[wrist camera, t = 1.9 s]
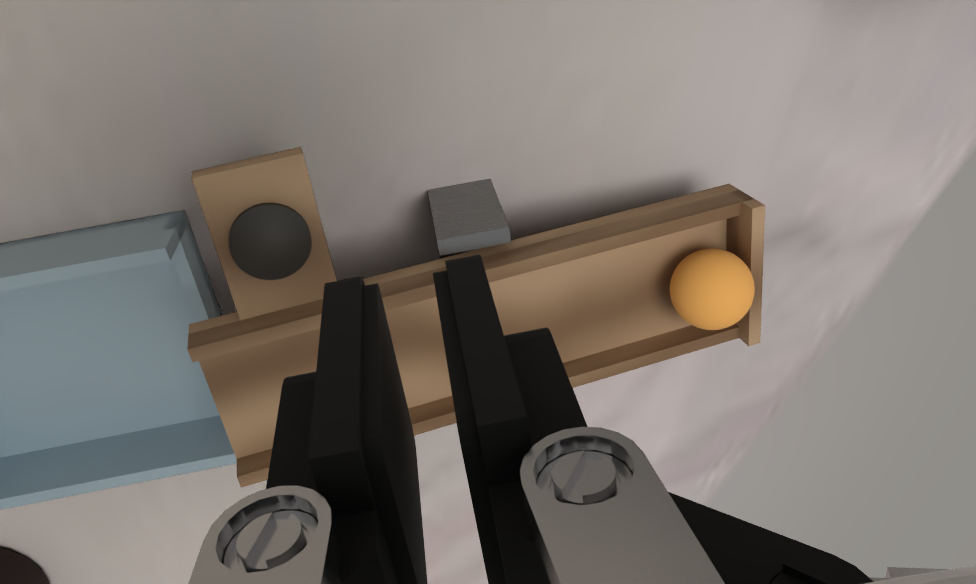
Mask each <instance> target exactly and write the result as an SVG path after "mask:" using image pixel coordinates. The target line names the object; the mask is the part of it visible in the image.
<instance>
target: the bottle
mask: <svg viewBox="0 0 976 584" xmlns="http://www.w3.org/2000/svg"><path fill="white" fill-rule="evenodd" d="M0 584H49V582H48V580H47V578H46V577H45V575H44V574H43V572H42V570H41V569H40V568H38V567H37V566H36V565H35V564H34V563H32V562H31V561H30V560H29V559H27V558H26V557H24V556H22V555H19V554H17V553H15V552H13V551H11V550H8V549H3V548H0Z"/></svg>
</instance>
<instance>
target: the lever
mask: <svg viewBox="0 0 976 584" xmlns="http://www.w3.org/2000/svg"><path fill="white" fill-rule="evenodd" d="M191 179H192V182H193V184H194V187H195V190H196V193H197V196H198V199H199V202H200V205H201V208H202V211H203V214H204V216H205V219H206V222H207V225H208V228H209V231H210V234H211V237H212V240H213V243H214V246H215V249H216V251H217V254H218V257H219V260H220V263H221V266H222V269H223V272H224V275H225V278H226V281H227V283H228V286H229V289H230V292H231V295H232V298H233V301H234V304H235V307H236V310H237V312H234V313H230V314H227V315H223V316H219V317H215V318H211V319H207V320H203V321H200V322H196V323H192V324H189V333H188V348H187V350H188V352H189V355H190V358H191V360H192V363H193V362H196V361H199V363H200V365H201V368H202V371H203V373H204V376H205V378H206V381H207V384H208V386H209V389H210V391H211V394H212V397H213V399H214V402H215V404H216V407H217V410H218V412H219V415H220V417H221V420H222V423H223V425H224V428H225V430H226V433H227V436H228V438H229V441H230V443H231V446H232V449H233V451H234V454H235V456H236V459H237V478H238V481H239V483H240V486H241V487H244V486H248V485H251V484H254V483H258V482H261V481H264V480H267V479H268V473H269V466H270V460H271V453H272V447H273V441H274V434H275V428H276V421H277V415H278V409H279V402H280V396H281V389H282V384H283V381H284V379H285V378H286V377H290V376H295V375H300V374H306V373H311V372H316V368H317V358H318V347H319V337H320V326H321V316H322V305H323V294H324V285H325V283H329V282H335V281H337V280H336V276H335V273H334V269H333V265H332V261H331V258H330V254H329V250H328V246H327V243H326V239H325V235H324V231H323V227H322V224H321V220H320V216H319V212H318V209H317V205H316V201H315V197H314V194H313V190H312V186H311V182H310V179H309V175H308V171H307V167H306V164H305V160H304V156H303V152H302V149H301V147H298V148H294V149H289V150H285V151H281V152H276V153H272V154H267V155H263V156H258V157H254V158H250V159H245V160H241V161H236V162H232V163H227V164H223V165H219V166H214V167H210V168H205V169H201V170H196V171H192V178H191ZM764 219H765V205H764V204H762V203H760V202H759V201H757V200H755V199H754V198H752V197H750V196H749V195H747V194H745V193H744V192H742V191H740V190H739V189H737V188H735V187H734V186H732V185H730V184H726V185H722V186H719V187H715V188H711V189H707V190H703V191H699V192H695V193H692V194H688V195H684V196H680V197H676V198H672V199H669V200H665V201H661V202H657V203H653V204H649V205H645V206H642V207H638V208H634V209H630V210H626V211H622V212H619V213H615V214H611V215H607V216H603V217H599V218H596V219H592V220H588V221H584V222H580V223H576V224H572V225H569V226H565V227H561V228H557V229H553V230H549V231H546V232H542V233H538V234H534V235H530V236H526V237H522V238H519V239H515V240H511V243H505V244H500V245H495V246H489V247H484V248H479V249H473V250H468V251H462V253H461V254H457V255H453V256H449V257H446V258H442V259H438V260H434V261H430V262H426V263H423V264H419V265H415V266H411V267H407V268H403V269H400V270H396V271H392V272H388V273H384V274H380V275H376V276H373V277H369V278H365V279H363V280H364V283H365V285H371V284H376V283H378V285H379V288H380V292H381V296H382V300H383V305H384V309H385V313H386V317H387V322H388V326H389V330H390V334H391V338H392V343H393V347H394V351H395V355H396V360H397V364H398V368H399V372H400V377H401V381H402V385H403V389H404V393H405V398H406V402H407V406H408V410H409V415H410V419H411V423H412V428H413V433H414V435H417V434H421V433H424V432H427V431H431V430H434V429H437V428H441V427H444V426H447V425H451V424H454V423H457V421H456V416H455V409H454V403H453V397H452V391H451V385H450V378H449V372H448V366H447V360H446V353H445V347H444V341H443V335H442V329H441V322H440V316H439V310H438V304H437V297H436V291H435V285H434V279H433V273H435V272H440V271H445V270H447V269H446V264H445V261H447V260H453V259H458V258H463V257H469V256H474V255H481V258H482V261H483V265H484V268H485V272H486V275H487V279H488V282H489V286H490V289H491V293H492V296H493V300H494V303H495V306H496V310H497V313H498V317H499V320H500V324H501V327H502V331H503V334H504V335H509V334H514V333H520V332H525V331H530V330H535V329H541V328H546V327H547V328H549V330H550V332H551V334H552V337H553V339H554V342H555V345H556V347H557V350H558V352H559V355H560V357H561V360H562V363H563V365H564V368H565V370H566V373H567V375H568V378H569V381H570V383H571V386H572V388H574V387H577V386H580V385H584V384H587V383H590V382H594V381H597V380H600V379H604V378H607V377H610V376H614V375H617V374H620V373H624V372H627V371H630V370H634V369H637V368H640V367H644V366H647V365H650V364H654V363H657V362H660V361H664V360H667V359H670V358H673V357H677V356H680V355H683V354H687V353H690V352H693V351H697V350H700V349H703V348H707V347H710V346H713V345H717V344H720V343H723V342H727V341H730V340H733V339H737V338H740V339H741V340H742V341H743V342H745V343H746V344H747V345H748V346H751V345H754V344H758V343H760V333H761V305H762V276H763V248H764ZM709 248H716V249H722V250H726V251H728V252H731V253H733V254H735V255H736V256H738V257H739V258H740V259H741V260H742V261H743V262H744V263H745V264H746V265H747V266H748V268H749V270H750V272H751V274H752V277H753V280H754V287H755V292H754V298H753V302H752V305H751V307H750V309H749V310H748V312H747V313H746V314H745V316H744V317H743V318H742V319H741V320H739V321H738V322H737V323H735V324H733V325H732V326H729V327H727V328H724V329H719V330H705V329H701V328H697V327H695V326H693V325H691V324H689V323H688V322H686V321H685V320H684V319H683V318H682V317H681V316H680V315H679V314H678V313H677V311H676V310H675V308H674V306H673V303H672V301H671V297H670V282H671V278H672V275H673V272H674V271H675V269H676V267H677V266H678V265H679V263H680V262H681V261H682V260H683V259H684V258H685V257H687V256H688V255H690V254H692V253H694V252H696V251H699V250H702V249H709Z"/></svg>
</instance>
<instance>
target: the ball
mask: <svg viewBox="0 0 976 584" xmlns="http://www.w3.org/2000/svg"><path fill="white" fill-rule="evenodd" d="M754 292H755V287H754V280H753V277H752V274H751V272H750V270H749V268H748V266H747V265H746V264H745V263H744V262H743V261H742V260H741V259H740V258H739V257H738V256H736V255H735V254H733V253H731V252H728V251H726V250H722V249H716V248H709V249H702V250H699V251H696V252H694V253H692V254H690V255H688V256H687V257H685V258H684V259H683V260H682V261H681V262H680V263H679V265H678V266H677V267H676V269H675V271H674V272H673V275H672V278H671V282H670V297H671V301H672V303H673V306H674V308H675V310H676V311H677V313H678V314H679V315H680V316H681V317H682V318H683V319H684V320H685V321H686V322H688V323H689V324H691V325H693V326H695V327H697V328H701V329H705V330H719V329H724V328H727V327H729V326H732V325H733V324H735V323H737V322H738V321H739V320H741V319H742V318H743V317H744V316H745V314H746V313H747V312H748V310H749V309H750V307H751V305H752V302H753V298H754Z"/></svg>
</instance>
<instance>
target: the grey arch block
mask: <svg viewBox="0 0 976 584" xmlns="http://www.w3.org/2000/svg"><path fill="white" fill-rule="evenodd" d="M428 195H429V201H430V206H431V211H432V217H433V222H434V228H435V233H436V238H437V244H438V249H439V254H440V259H442V258H446V257H449V256H453V255H457V254H461V253H462V251H468V250H473V249H479V248H484V247H489V246H495V245H500V244H505V243H511V237H510V230H509V226H508V223H507V220H506V218H505V215H504V213H503V210H502V207H501V205H500V202H499V200H498V197H497V194H496V192H495V189H494V187H493V184H492V181H491V179H487V180H482V181H476V182H471V183H465V184H460V185H454V186H449V187H443V188H438V189H432V190H428Z"/></svg>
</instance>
